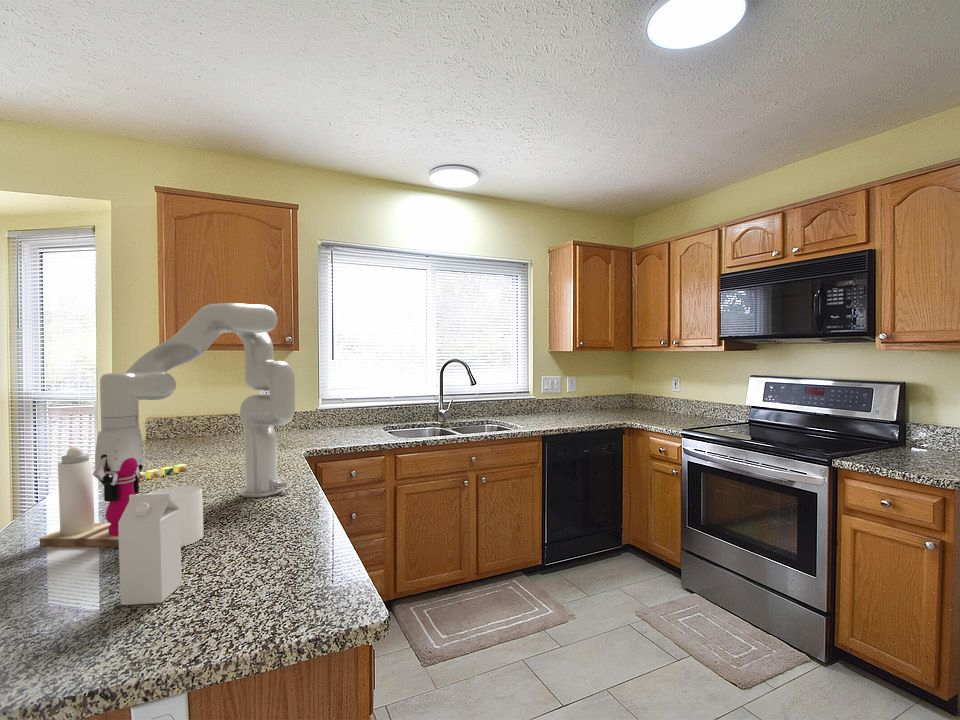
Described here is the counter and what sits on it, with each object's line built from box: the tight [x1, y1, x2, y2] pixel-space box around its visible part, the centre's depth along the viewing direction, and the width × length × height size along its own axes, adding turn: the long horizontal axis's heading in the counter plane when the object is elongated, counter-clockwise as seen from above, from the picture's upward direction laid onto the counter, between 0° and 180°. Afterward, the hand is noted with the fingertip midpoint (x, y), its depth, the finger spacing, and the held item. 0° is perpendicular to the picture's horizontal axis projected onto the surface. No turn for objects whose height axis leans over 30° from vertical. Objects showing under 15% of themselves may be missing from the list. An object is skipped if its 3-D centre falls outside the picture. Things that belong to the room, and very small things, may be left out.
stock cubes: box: [138, 463, 188, 483], centre depth 181 cm, size 32×32×3 cm
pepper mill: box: [105, 458, 138, 536], centre depth 121 cm, size 7×7×20 cm
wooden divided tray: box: [39, 522, 119, 548], centre depth 122 cm, size 22×10×2 cm, turn 86°
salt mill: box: [57, 445, 96, 535], centre depth 122 cm, size 7×7×21 cm
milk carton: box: [118, 493, 183, 606], centre depth 93 cm, size 7×7×19 cm
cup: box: [147, 484, 204, 548], centre depth 120 cm, size 12×12×12 cm
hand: (122, 496), depth 121 cm, fingers open, 5 cm apart
